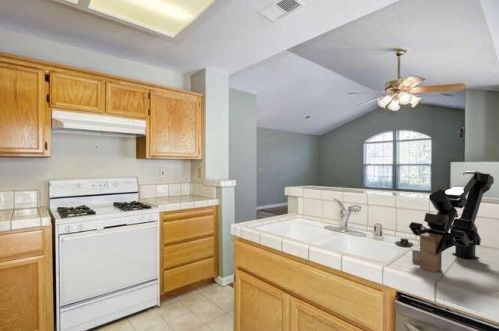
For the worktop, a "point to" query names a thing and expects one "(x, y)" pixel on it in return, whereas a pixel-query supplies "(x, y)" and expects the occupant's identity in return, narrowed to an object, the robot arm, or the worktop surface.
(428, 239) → the walnut post
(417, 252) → the letter block
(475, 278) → the worktop surface
